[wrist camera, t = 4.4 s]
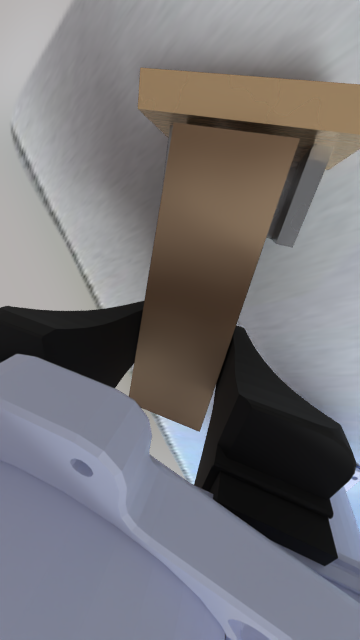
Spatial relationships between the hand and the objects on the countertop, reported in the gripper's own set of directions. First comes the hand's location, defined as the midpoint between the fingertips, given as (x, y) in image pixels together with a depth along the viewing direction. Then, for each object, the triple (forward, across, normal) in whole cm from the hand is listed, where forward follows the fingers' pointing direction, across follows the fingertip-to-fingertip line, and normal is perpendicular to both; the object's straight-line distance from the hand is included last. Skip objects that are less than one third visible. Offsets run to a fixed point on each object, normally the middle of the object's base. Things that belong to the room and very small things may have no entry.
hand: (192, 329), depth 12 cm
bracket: (+6, 0, -8) cm, 10 cm away
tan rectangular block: (+3, 0, -2) cm, 3 cm away
